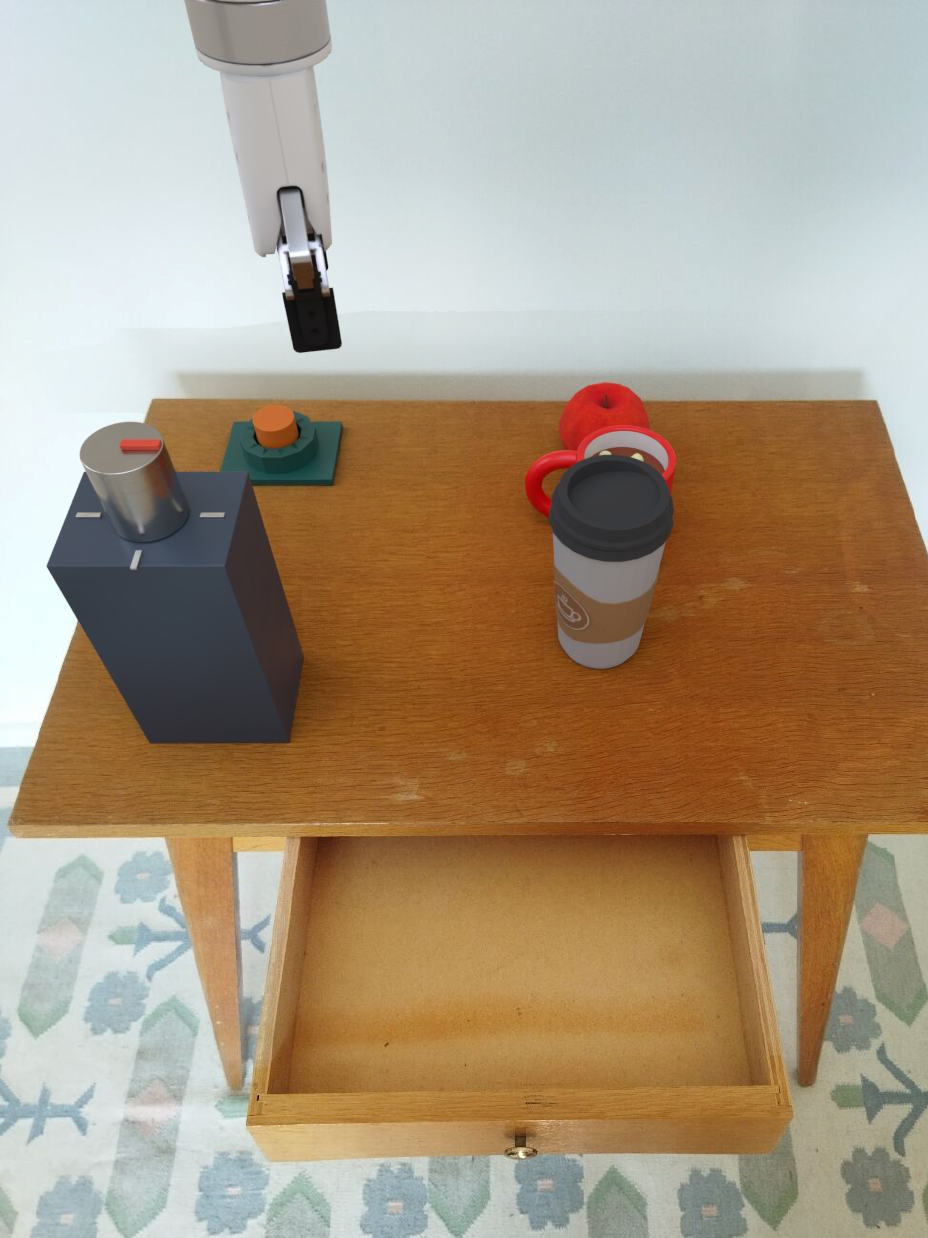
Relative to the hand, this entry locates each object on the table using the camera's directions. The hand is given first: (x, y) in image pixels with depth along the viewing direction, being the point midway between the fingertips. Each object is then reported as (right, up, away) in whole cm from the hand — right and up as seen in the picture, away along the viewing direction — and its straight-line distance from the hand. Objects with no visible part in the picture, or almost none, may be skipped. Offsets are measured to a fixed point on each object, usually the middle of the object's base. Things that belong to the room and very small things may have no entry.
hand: (312, 308), depth 66 cm
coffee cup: (+21, -23, +8) cm, 31 cm away
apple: (+22, -6, +20) cm, 30 cm away
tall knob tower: (-7, -27, +4) cm, 28 cm away
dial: (-7, -17, -11) cm, 21 cm away
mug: (+21, -13, +15) cm, 28 cm away
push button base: (-7, -5, +20) cm, 22 cm away
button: (-7, -4, +18) cm, 20 cm away
